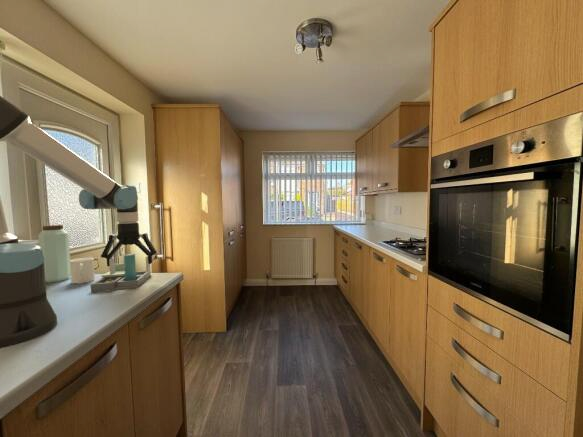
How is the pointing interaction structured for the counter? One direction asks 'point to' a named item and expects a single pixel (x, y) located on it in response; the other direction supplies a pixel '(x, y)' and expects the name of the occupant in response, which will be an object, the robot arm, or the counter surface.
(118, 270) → the cover
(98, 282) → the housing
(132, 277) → the pin
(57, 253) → the water bottle
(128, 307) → the counter surface
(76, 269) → the mug
